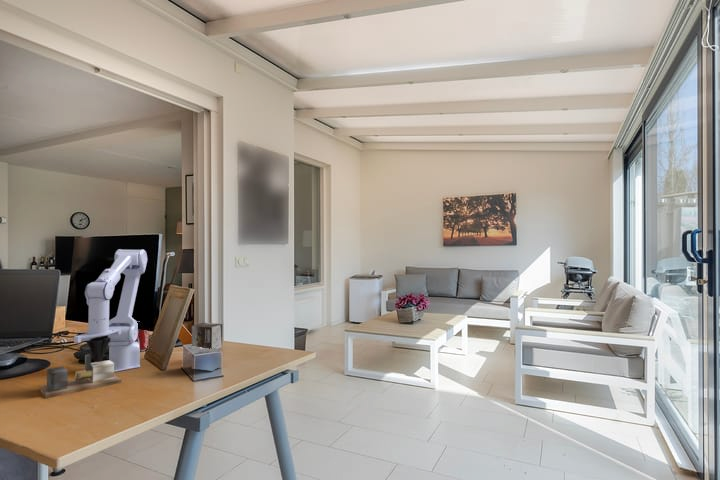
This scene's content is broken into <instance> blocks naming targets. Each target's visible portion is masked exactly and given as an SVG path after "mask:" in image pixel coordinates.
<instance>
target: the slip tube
mask: <svg viewBox="0 0 720 480" xmlns="http://www.w3.org/2000/svg"><path fill="white" fill-rule="evenodd" d="M91 355H92V354H90V353H89V354H85V355H84V369H83V370H77V371H75V372H74V378H75V379H74V380H76V381H77V380H82V379H87V378H92V377H93V368H92V369H91V363H92V362H91V361H92V356H91Z"/></svg>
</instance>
